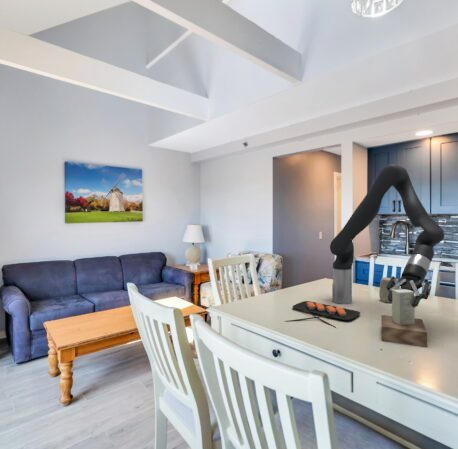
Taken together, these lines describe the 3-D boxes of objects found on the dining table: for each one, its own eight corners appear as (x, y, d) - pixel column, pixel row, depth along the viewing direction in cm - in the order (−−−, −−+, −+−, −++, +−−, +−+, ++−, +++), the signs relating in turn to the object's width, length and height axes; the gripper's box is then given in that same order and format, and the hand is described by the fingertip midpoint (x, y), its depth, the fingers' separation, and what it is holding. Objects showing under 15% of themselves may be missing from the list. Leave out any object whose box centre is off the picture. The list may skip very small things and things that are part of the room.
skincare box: (408, 320, 119) (408, 288, 119) (415, 324, 115) (415, 291, 114) (391, 320, 119) (391, 289, 119) (397, 325, 115) (397, 292, 114)
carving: (395, 304, 157) (395, 280, 156) (378, 302, 160) (378, 278, 160) (396, 300, 162) (396, 277, 162) (379, 299, 166) (379, 276, 165)
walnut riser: (381, 340, 114) (381, 326, 114) (381, 327, 126) (381, 314, 126) (427, 346, 108) (427, 332, 108) (422, 332, 120) (422, 319, 120)
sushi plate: (362, 316, 141) (362, 307, 141) (331, 335, 120) (331, 325, 120) (305, 303, 162) (305, 296, 162) (270, 318, 141) (270, 310, 140)
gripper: (394, 260, 126) (378, 293, 120) (433, 265, 115) (418, 302, 109) (401, 272, 130) (386, 304, 124) (439, 277, 118) (425, 314, 112)
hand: (401, 303), depth 116 cm, fingers open, 8 cm apart
